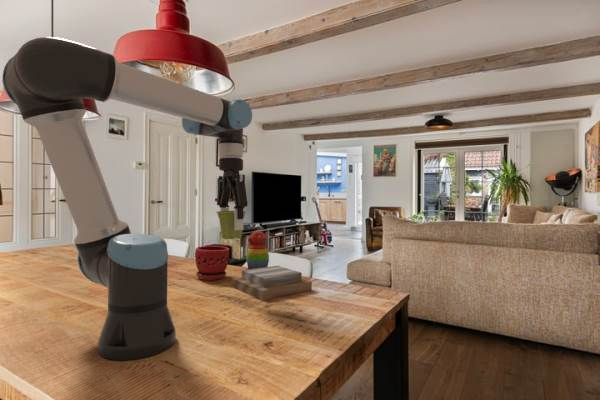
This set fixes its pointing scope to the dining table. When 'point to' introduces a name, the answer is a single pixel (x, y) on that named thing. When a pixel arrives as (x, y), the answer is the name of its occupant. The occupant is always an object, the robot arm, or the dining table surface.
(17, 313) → the dining table surface
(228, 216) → the plant pot
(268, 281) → the stepped square platform
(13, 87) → the robot arm
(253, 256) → the stacking bear
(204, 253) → the plant pot
